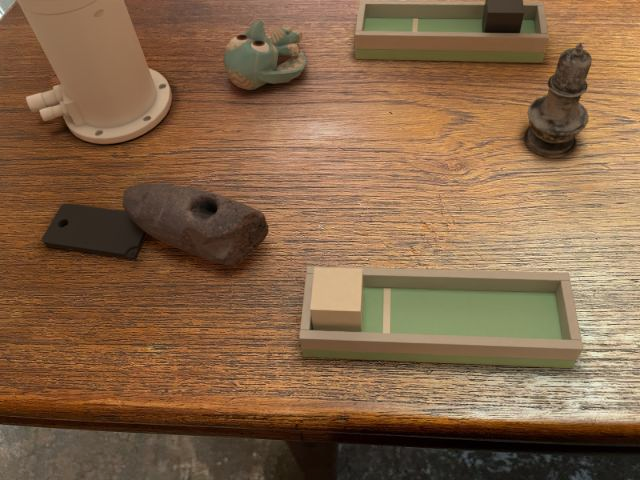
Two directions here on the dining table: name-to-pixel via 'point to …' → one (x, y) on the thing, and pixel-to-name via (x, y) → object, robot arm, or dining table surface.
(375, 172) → the dining table surface
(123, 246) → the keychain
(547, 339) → the tray
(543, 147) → the chess piece
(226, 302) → the dining table surface
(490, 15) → the dark brown cube
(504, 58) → the green beige rectangular tray
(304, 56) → the teal creature figurine
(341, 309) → the beige cube
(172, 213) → the perforated stone tool
